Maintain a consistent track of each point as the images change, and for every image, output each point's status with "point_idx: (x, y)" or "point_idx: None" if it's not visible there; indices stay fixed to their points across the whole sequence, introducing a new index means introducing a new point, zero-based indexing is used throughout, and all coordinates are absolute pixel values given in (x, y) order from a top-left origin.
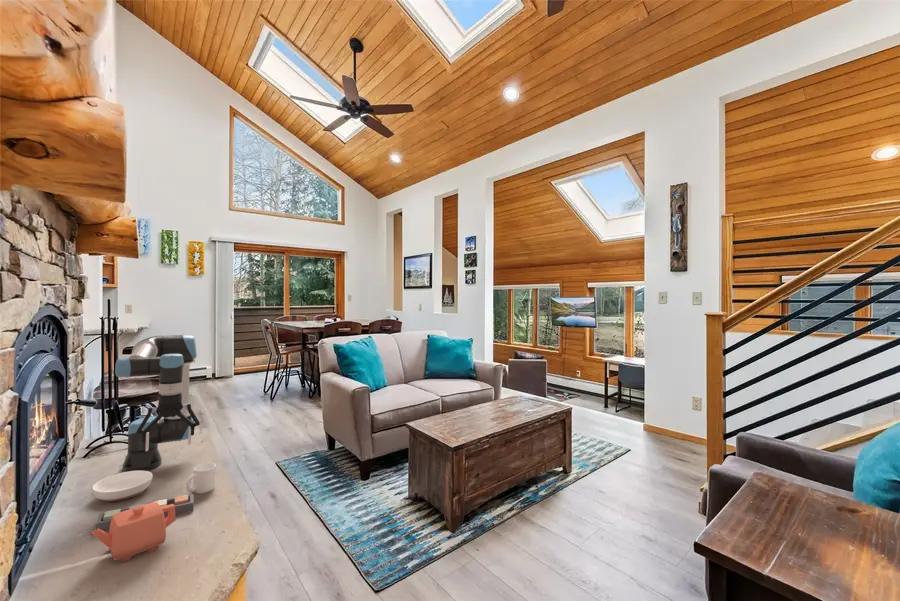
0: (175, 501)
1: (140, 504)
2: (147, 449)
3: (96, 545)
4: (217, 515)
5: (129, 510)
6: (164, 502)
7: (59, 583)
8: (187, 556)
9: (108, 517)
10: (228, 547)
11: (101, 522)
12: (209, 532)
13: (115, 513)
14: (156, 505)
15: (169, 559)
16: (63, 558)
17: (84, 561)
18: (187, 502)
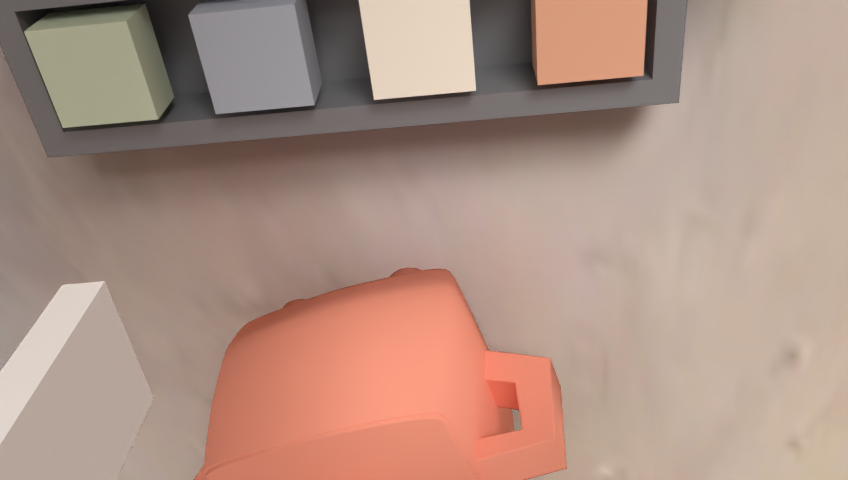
0: (543, 73)
1: (264, 8)
2: (135, 425)
3: (151, 235)
4: (803, 179)
5: (290, 461)
6: (457, 54)
7: (147, 445)
8: (605, 468)
9: (96, 121)
10: (776, 474)
11: (77, 149)
12: (721, 339)
13: (123, 96)
14: (451, 463)
15: None
16: (46, 288)
17: (166, 347)
18: (633, 84)
